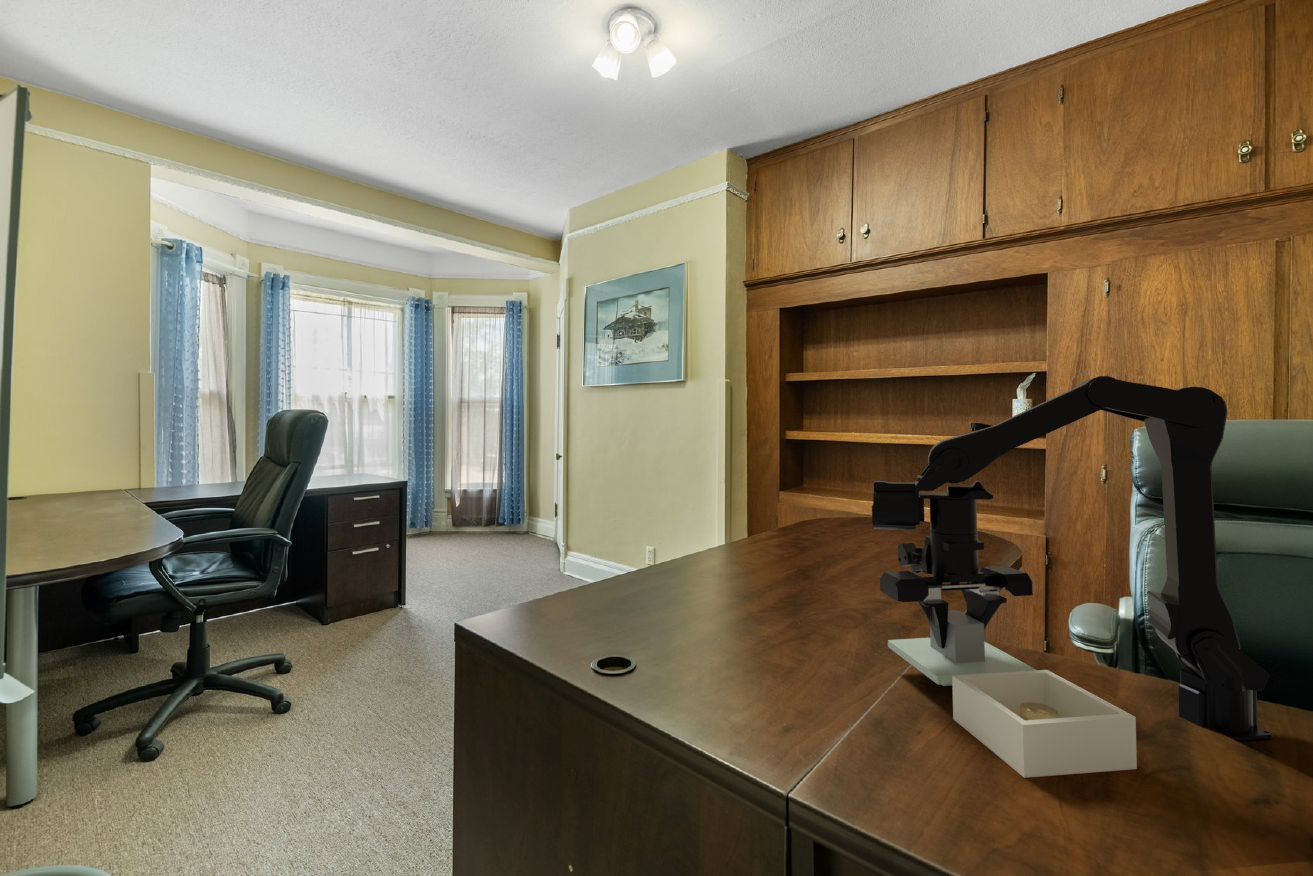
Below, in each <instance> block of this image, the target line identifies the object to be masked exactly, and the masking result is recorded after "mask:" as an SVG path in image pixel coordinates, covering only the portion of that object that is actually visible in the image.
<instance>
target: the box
mask: <svg viewBox="0 0 1313 876" xmlns="http://www.w3.org/2000/svg"><path fill="white" fill-rule="evenodd" d="M951 686H952V718H953V721H955V722H956V723H957V724H958V725H959V726H960V727H962V728H964V730H965V731H967V732H968V733H969V734H970V735H972V736H973V737H974V738H975V739H977V741H979V742H980V743H981V744H983V745H984V746H985V747H986V748H988V749H989V750H990V751H991V752H992V753H993V754H994V755H996V756H997V757H998V758H1000V760H1002V761H1003V762H1004V763H1005V764H1007V765H1008V766H1009V767H1011V768H1012V769H1013V770H1014V771H1015V772H1016V773H1018V774H1019V775H1020V776H1022V777H1023V778H1025V779H1026V778H1037V777H1038V778H1039V777H1050V776H1051V777H1052V776H1053V777H1054V776H1063V775H1075V774H1077V775H1078V774H1088V773H1101V772H1103V773H1104V772H1116V771H1129V770H1137V769H1138V767H1137V766H1138V761H1137V760H1138V759H1137V757H1138V756H1137V724H1136V723H1137V722H1136V721H1137V718H1136V716H1135V715H1133V714H1131V713H1129V712H1127V711H1125V710H1124V709H1122V708H1120V707H1118V706H1116V705H1114V704H1112V703H1110V702H1109V701H1107V700H1105V699H1102V698H1101V697H1100V696H1097V695H1096V694H1093V693H1092V692H1090V691H1087V690H1086V689H1084V688H1082V687H1080V686H1079V685H1077V684H1075V683H1073V682H1070V681H1069V680H1067V679H1065V678H1064V677H1061V676H1059V675H1058V674H1056V673H1054V672H1052V671H1051V670H1049V669H1040V670H1039V669H1038V670H1037V669H1036V670H1033V671H1016V672H1000V673H984V674H968V675H952V685H951ZM1026 702H1034V703H1040V704H1044V705H1047V706H1049V707H1052V708H1053V709H1055V710H1056V711H1057V712H1058V718H1054V719H1039V720H1023V719H1022V718H1021V717H1020V704H1022V703H1026Z"/></svg>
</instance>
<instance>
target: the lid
mask: <svg viewBox="0 0 1313 876" xmlns="http://www.w3.org/2000/svg"><path fill="white" fill-rule="evenodd" d="M929 635H930V637H915V638H899V639H888V640H887V648H889V649H890V650H891V651H893V653H896V655H898V656H900V657H901V658H902V659H903V660H904V661H905V662H907V663H909V665H911V666H912V667H914V668H915V669H917V671H919V672H921V673H922V674H923V675H924V676H926V677H927V678H928V679H929V680H931V681H933V682H934V683H935V684H936V685H941V686H943V687H947V686H953V685H952V675H968V674H984V673H1000V672H1016V671H1033V670H1037V669H1035V668H1034V667H1033V666H1030V665H1028V664H1027V663H1025V662H1022V661H1021V660H1019V659H1017V658H1015V656H1012V655H1011V654H1008V653H1006V652H1005V651H1003V650H1001V649H999V648H997V647H995V646H994V645H992V644H990V643H989V642H987V641H985V630H984V623H982V622H980V621H978V620H976V619H974V618H972V617H970V616H968V615H967V613H964V612H962V611H959V610H958V609H948V622H947V639H946V644H945V648H943V649H942V648H940V647H938V645H937V643H936V640H935V638H934V635H933V633H932V630H931V628H930V627H929Z"/></svg>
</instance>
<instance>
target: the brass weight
mask: <svg viewBox="0 0 1313 876" xmlns="http://www.w3.org/2000/svg"><path fill="white" fill-rule="evenodd" d="M1020 717H1021V718H1022V719H1023V720H1039V719H1054V718H1058V712H1057V711H1056V710H1055V709H1053V708H1052V707H1049V706H1047V705H1044V704H1040V703H1034V702H1026V703H1022V704H1020Z"/></svg>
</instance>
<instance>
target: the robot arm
mask: <svg viewBox="0 0 1313 876" xmlns="http://www.w3.org/2000/svg"><path fill="white" fill-rule="evenodd" d="M1227 406H1228V405H1227V403H1226V401H1225V399H1224V398H1223V396H1220V395H1219V394H1217V393H1216V392H1215V391H1213V390H1211V389H1208V388H1206V387H1202V386H1188V387H1187V386H1186V387H1181V388H1180V387H1179V388H1173V389H1172V388H1168V387H1162V386H1157V385H1151V384H1144V383H1138V382H1132V381H1126V380H1121V379H1116V378H1115V377H1112V376H1108V375H1099V376H1097V377H1092V378H1090V379H1086V380H1084V381H1083V382H1082V383H1080V384H1079V385H1078V386H1075V387H1074V388H1071V389H1069V390H1067V391H1065V392H1063V393H1061V394H1058V395H1055V396H1054V397H1053V398H1049V399H1048V400H1046V401H1044V402H1041V403H1039V404H1037V405H1035V406H1033V407H1030V408H1028V409H1026V410H1024V411H1022V412H1020V413H1018V414H1016V415H1013V416H1011V417H1010V418H1007V419H1005V420H1002V421H1001V422H998V423H996V424H995V425H992V426H988V427H985V428H982V429H978V430H974V431H971V432H970V431H969V432H967V433H964V434H960V435H957V436H953V437H949V438H946V439H943V440H940V441H938V442H936V443H935V444H934V445H933V446H932V447H931V448H930V450H929V451H928V452H929V453H928V456H927V463H928V465H927V466H926V467H925V468H924V469H923V471H922V472H921V474H919V475H918V474H917V478H916V480H915V481H914V482H913V481H912V482H910V481H909V482H907V481H906V482H901V481H900V482H897V481H895V482H893V481H892V482H890V481H886V480H875V481H874V482H873V496H872V497H873V501H872V505H871V521H872V522H871V523H872V528H873V530H897V531H899V530H901V531H917V526H920V525H921V524H925V499H927V500H928V499H929V503H928V504H929V534H930V535H926V536H925V537H924V541H923V543H924V544H923V545H924V546H923V547H917V546H916V545H915V543H914V542H906V543H905V542H904V543H900V544H897V560H898V564H899V566H900V567H901V568H902V567H910V569H911V571H910V570H896V571H895V570H893V571H884V572H883V574H882V575H881V577H880V579H879V592H881V593H883V594H884V595H887V597H889V598H891V599H893V600H895V601H896V602H900V603H914V602H915V603H917V604H918V606H920V608H921V610H922V612H923V614H924V615H925V618H926V619H927V620H926V621H927V622H928V624H929V629H930V628H931V630H932V633H933V635H934V638H935V640H936V643H937V645H938V647H940V648H942V649H943V648H945V644H946V639H947V622H948V610H949V602H948V601H946V600H944V599H942V592H945V591H946V592H947V591H961V592H962V595H963V598H964V601H965V603H966V604H965V605H966V615H968V616H970V617H972V618H974V619H976V620H978V621H980V622H982V623H984V631H985V630H986V628H987V626H988V624H989V622H990V621H991V620H992V618H993V617H994V615H995V614H996V612H997V610H998V609H999V608H1000V606H1001V605H1003V604H1006V603H1008V598H1007V597H1005V596H1001V589H1002V588H1005V591H1006V592H1007V593H1008V594H1009V595H1010V596H1012V597H1026V596H1029V597H1030V596H1033V595H1034V581H1033V579H1032V578H1031V576H1030V574H1029V573H1027V572H1026V571H1022V570H1019V569H1015V568H1013V567H1010V566H1007V565H997V566H996V565H995V566H982V567H981V568H980V569H979V551H984V550H985V542H984V541H983V540H982V541H981V540H978V539H979V538H978V512H977V511H978V510H977V508H978V505H977V500H978V501H979V500H983V501H991V500H993V499H994V495H993V494H992V493H991V492H990V491H988V490H987V489H986V488H985V487H984V486H983V485H982V482H981V481H979V480H974V482H973V483H972V484H971V485H947V487H946V492H933V491H935V490H937V489H938V488H940V487H942V486H944V485H945V484H947V483H949V484H959V483H963V482H965V481H967V480H969V479H970V478H972V477H973V476H975V475H976V474H978V473H979V472H981V471H982V470H984V469H985V468H987V467H988V466H990V465H991V464H993V463H994V462H995V461H997V460H998V459H999V458H1000V457H1002V456H1003V455H1005V454H1006V453H1008V452H1009V451H1011V450H1014V449H1016V448H1018V447H1021V446H1023V445H1026V444H1027V443H1029V442H1032V441H1034V440H1036V439H1038V438H1040V437H1043V436H1045V435H1047V434H1050V433H1052V432H1054V431H1056V430H1058V429H1061V428H1063V427H1066V426H1068V425H1070V424H1071V423H1075V422H1076V421H1078V420H1081V419H1083V418H1085V417H1088V416H1090V415H1093V414H1095V413H1097V412H1099V411H1103V412H1106V413H1109V414H1113V415H1117V416H1119V417H1124V418H1126V419H1131V420H1136V421H1139V422H1144V425H1145V429H1146V432H1147V436H1148V440H1149V442H1150V445H1151V446H1152V449H1153V450H1154V452H1155V454H1156V456H1157V457H1156V458H1157V459H1158V460H1159V463H1160V466H1161V467H1160V468H1161V483H1162V484H1161V486H1162V487H1161V488H1162V504H1163V505H1162V506H1163V522H1164V539H1165V540H1164V541H1165V559H1166V560H1165V561H1166V563H1165V564H1166V581H1165V583H1164V585H1163V588H1162V590H1161V592H1156V591H1150V590H1148V591H1147V593H1146V596H1147V599H1148V600H1147V601H1148V603H1149V604H1148V605H1149V608H1150V611H1149V616H1148V618H1147V620H1146V621H1147V623H1148V624H1149V625H1150V626H1152V627H1153V628H1154V630H1155V633H1156V635H1157V636H1158V637H1159V639H1161V641H1163V642H1164V643H1165V644H1166V645H1167V646H1168V647H1170V648H1171V649H1172V650H1173V651H1174V652H1175V655H1176V657H1177V659H1179V660H1180V661H1182V662H1183V663H1184V664H1185V665H1186V666H1184V668H1183V669H1179V672H1180V673H1179V674H1180V675H1179V676H1180V679H1179V680H1180V683H1178V685H1177V686H1178V687H1177V689H1178V690H1177V691H1178V709H1173V711H1174V712H1176V713H1178V717H1179V718H1182V719H1185V720H1186V721H1188V722H1190V723H1192V724H1193V725H1194V724H1195V725H1196V726H1198V727H1201V728H1210V729H1211V730H1213V731H1216V732H1217V733H1219V734H1222V735H1223V736H1226V737H1227V738H1229V739H1232V740H1234V741H1235V742H1238V741H1249V740H1250V741H1251V740H1262V739H1264V740H1265V739H1273V737H1274V733H1273V732H1271V731H1269V730H1266V728H1265V729H1264V728H1263V727H1261V726H1258V697H1257V696H1258V695H1257V692H1263V691H1264V690H1265V687H1266V685H1267V683H1268V681H1269V679H1270V677H1271V674H1270V673H1269V672H1268V671H1267V670H1266V669H1264V668H1263V666H1260V665H1259V664H1258V663H1257V662H1256V661H1254V660H1253V659H1252V658H1251V657H1250V656H1249V655H1247V654H1246V653H1245V652H1244V651H1243V650H1241V642H1240V639H1239V635H1238V631H1237V629H1236V625H1235V621H1234V618H1233V615H1232V613H1231V611H1230V608H1229V607H1228V605H1227V603H1226V600H1225V599H1224V597H1223V595H1222V592H1221V590H1220V587H1219V581H1218V562H1217V544H1216V543H1217V542H1216V540H1217V539H1216V525H1215V509H1214V508H1215V505H1214V489H1213V472H1212V471H1213V470H1212V469H1213V463H1214V459H1215V458H1216V455H1217V453H1218V451H1219V449H1220V447H1221V445H1222V442H1223V440H1224V434H1225V429H1226V423H1227V419H1228V418H1227V417H1228V408H1227ZM920 573H923V574H925V575H930V576H923V577H922V576H921V575H919V574H920Z"/></svg>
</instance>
